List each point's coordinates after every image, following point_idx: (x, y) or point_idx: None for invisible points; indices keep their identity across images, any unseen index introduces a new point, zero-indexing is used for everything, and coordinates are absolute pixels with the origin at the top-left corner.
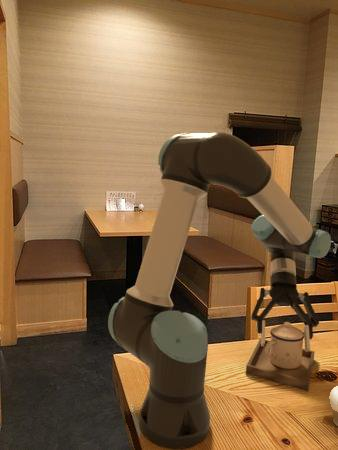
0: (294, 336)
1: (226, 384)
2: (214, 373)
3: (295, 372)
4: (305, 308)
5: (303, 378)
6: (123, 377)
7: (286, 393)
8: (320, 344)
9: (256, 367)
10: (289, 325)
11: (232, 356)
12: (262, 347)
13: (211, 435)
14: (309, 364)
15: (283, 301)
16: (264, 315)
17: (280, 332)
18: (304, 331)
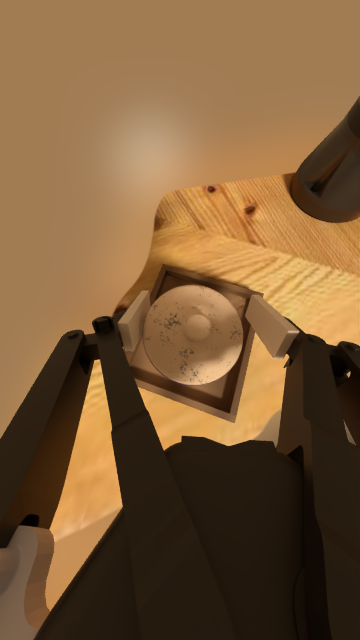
0: (179, 291)
1: (281, 267)
2: (304, 292)
3: None
4: (71, 445)
5: (165, 292)
6: None
7: (197, 263)
8: (81, 457)
9: (245, 290)
10: (192, 314)
11: None
12: (225, 394)
13: (285, 184)
14: None
15: (239, 455)
16: (305, 347)
17: (219, 305)
18: (136, 336)
